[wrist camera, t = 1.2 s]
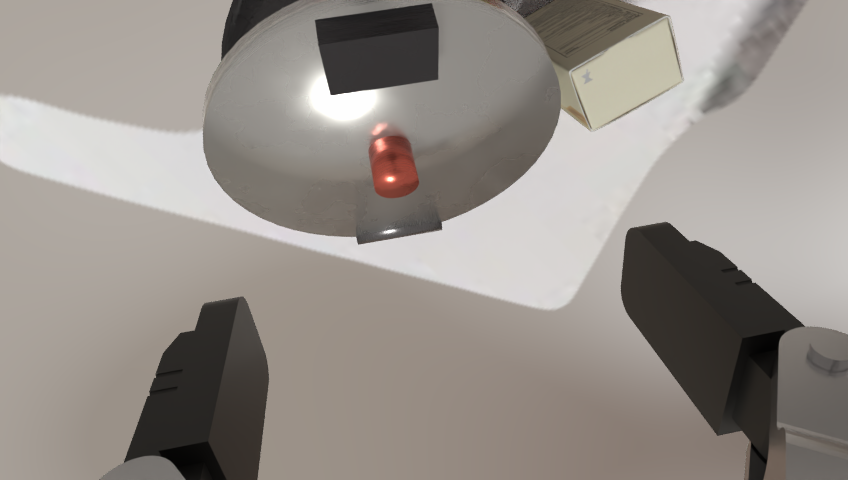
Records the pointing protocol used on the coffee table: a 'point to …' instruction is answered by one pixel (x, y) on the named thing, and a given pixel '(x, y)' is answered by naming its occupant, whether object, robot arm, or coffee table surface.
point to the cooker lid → (379, 113)
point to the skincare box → (607, 56)
